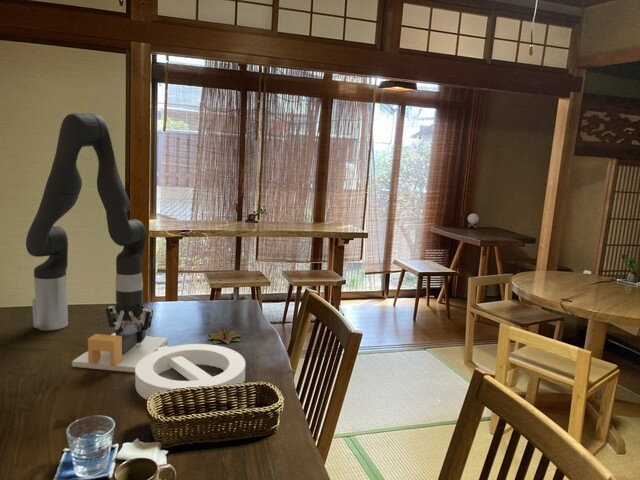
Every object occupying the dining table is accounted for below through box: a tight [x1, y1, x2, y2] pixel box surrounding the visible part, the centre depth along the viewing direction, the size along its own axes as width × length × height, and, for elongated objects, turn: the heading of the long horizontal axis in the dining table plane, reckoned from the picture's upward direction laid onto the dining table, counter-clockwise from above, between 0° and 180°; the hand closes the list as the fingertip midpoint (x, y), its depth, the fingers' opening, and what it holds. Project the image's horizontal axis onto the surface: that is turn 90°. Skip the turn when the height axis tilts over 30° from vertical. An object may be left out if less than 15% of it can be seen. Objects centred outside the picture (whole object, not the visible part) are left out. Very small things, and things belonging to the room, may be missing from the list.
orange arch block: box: [87, 333, 122, 366], centre depth 133 cm, size 7×4×7 cm, turn 84°
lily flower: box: [206, 324, 241, 345], centre depth 160 cm, size 12×12×5 cm
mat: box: [71, 332, 169, 373], centre depth 144 cm, size 18×22×2 cm
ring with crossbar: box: [134, 343, 246, 401], centre depth 130 cm, size 28×28×5 cm
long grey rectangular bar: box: [117, 323, 146, 355], centre depth 146 cm, size 4×14×4 cm, turn 174°
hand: (130, 341), depth 148 cm, fingers open, 5 cm apart
